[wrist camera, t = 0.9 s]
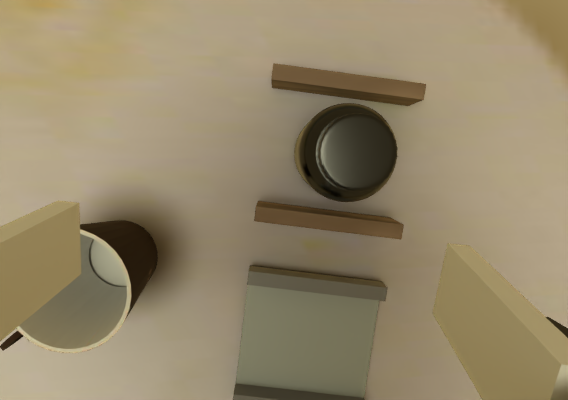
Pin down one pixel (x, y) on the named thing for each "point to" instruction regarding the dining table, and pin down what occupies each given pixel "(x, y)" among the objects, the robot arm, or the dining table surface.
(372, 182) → the supplement bottle
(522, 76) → the dining table surface
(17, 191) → the dining table surface
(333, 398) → the slate pad
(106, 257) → the coffee mug
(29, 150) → the dining table surface
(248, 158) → the dining table surface
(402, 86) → the walnut cradle
